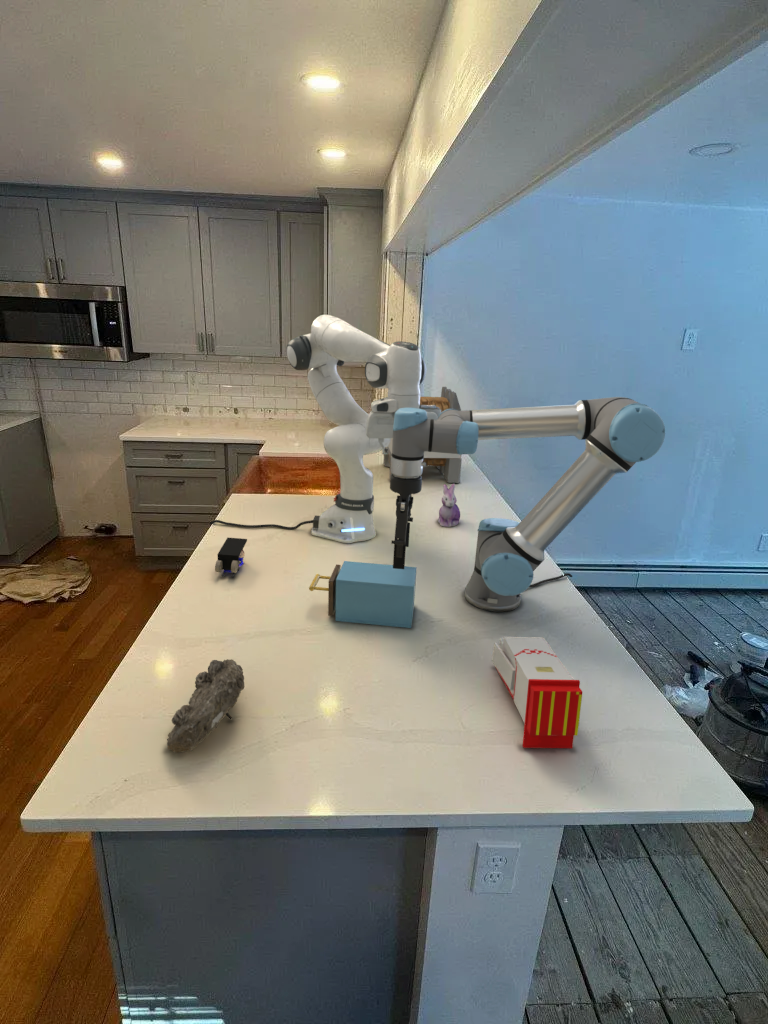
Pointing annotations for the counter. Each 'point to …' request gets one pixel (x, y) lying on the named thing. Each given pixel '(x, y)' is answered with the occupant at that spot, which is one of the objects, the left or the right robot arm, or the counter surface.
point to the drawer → (330, 590)
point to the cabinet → (375, 594)
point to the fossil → (206, 705)
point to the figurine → (449, 508)
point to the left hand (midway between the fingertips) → (401, 454)
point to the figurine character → (230, 556)
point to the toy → (539, 691)
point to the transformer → (443, 461)
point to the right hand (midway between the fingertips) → (401, 556)
